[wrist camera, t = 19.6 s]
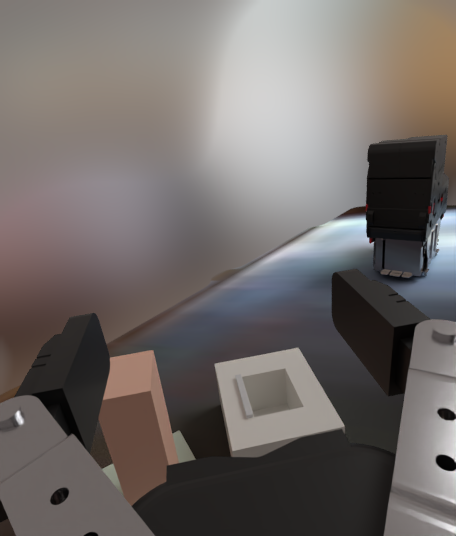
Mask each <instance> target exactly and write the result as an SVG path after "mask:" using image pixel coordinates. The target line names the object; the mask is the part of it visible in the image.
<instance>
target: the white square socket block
mask: <svg viewBox="0 0 456 536" xmlns="http://www.w3.org/2000/svg"><path fill="white" fill-rule="evenodd" d="M215 370H216V377H217V383H218V390H219V396H220V403H221V408H222V413H223V418H224V423H225V429H226V434H227V439H228V444H229V449H230V454H231V457H260V456H263V455H265V454H267V453H269V452H271V451H273V450H276V449H278V448H280V447H282V446H284V445H286V444H288V443H290V442H292V441H294V440H296V439H298V438H301V437H306V436H310V435H315V434H320V433H325V432H330V431H334V430H339V429H342V430H343V432H344V434H345V425H344V424H343V422H342V420H341V419H340V417H339V415H338V414H337V412H336V410H335V409H334V407H333V405H332V404H331V402H330V400H329V399H328V397H327V395H326V394H325V392H324V390H323V388H322V387H321V385H320V383H319V382H318V380H317V378H316V377H315V375H314V373H313V372H312V370H311V368H310V367H309V365H308V363H307V362H306V360H305V358H304V356H303V355H302V353H301V351H300V350H299V348H294V349H289V350H284V351H279V352H274V353H268V354H263V355H258V356H253V357H248V358H242V359H237V360H232V361H227V362H222V363H217V364H215Z"/></svg>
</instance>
